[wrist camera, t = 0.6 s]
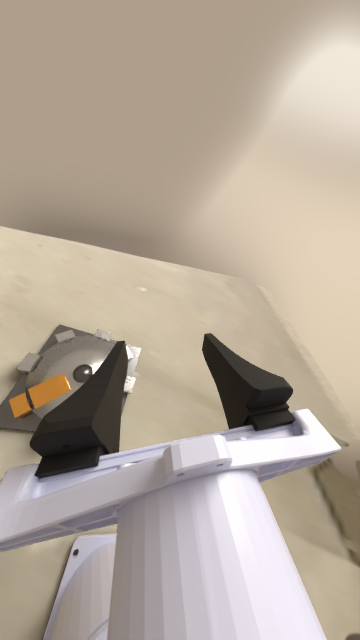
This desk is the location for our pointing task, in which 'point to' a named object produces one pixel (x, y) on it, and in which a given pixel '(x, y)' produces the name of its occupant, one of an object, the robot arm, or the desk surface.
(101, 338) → the sprocket
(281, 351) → the desk surface
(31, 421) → the plate
